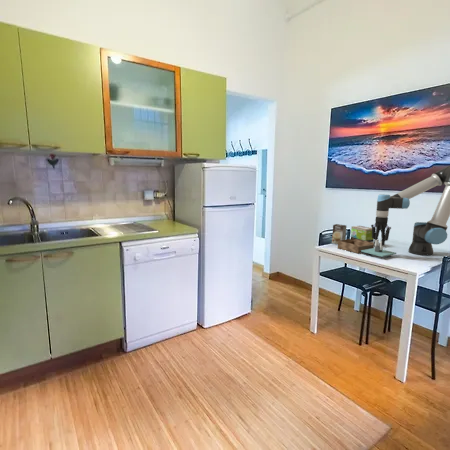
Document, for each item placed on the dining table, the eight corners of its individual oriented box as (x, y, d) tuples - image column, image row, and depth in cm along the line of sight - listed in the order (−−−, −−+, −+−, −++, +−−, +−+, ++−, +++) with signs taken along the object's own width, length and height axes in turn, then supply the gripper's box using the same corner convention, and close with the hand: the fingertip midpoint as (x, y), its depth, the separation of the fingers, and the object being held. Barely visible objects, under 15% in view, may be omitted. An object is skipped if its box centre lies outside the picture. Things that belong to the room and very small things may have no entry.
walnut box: (373, 250, 214) (373, 242, 213) (357, 253, 206) (358, 245, 205) (352, 245, 230) (353, 238, 229) (337, 248, 221) (338, 240, 220)
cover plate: (396, 253, 198) (397, 247, 198) (382, 256, 191) (382, 249, 190) (374, 248, 212) (375, 242, 211) (360, 251, 204) (361, 245, 204)
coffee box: (331, 243, 239) (332, 224, 237) (335, 242, 243) (336, 223, 241) (341, 245, 232) (343, 226, 230) (345, 244, 236) (346, 225, 234)
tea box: (349, 243, 240) (351, 226, 238) (358, 242, 244) (359, 225, 242) (365, 247, 227) (366, 228, 224) (373, 245, 231) (375, 228, 228)
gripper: (367, 215, 202) (365, 247, 206) (390, 218, 188) (386, 252, 192) (374, 215, 206) (371, 246, 210) (396, 217, 192) (393, 251, 196)
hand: (378, 249), depth 201 cm, fingers closed on cover plate, 3 cm apart
